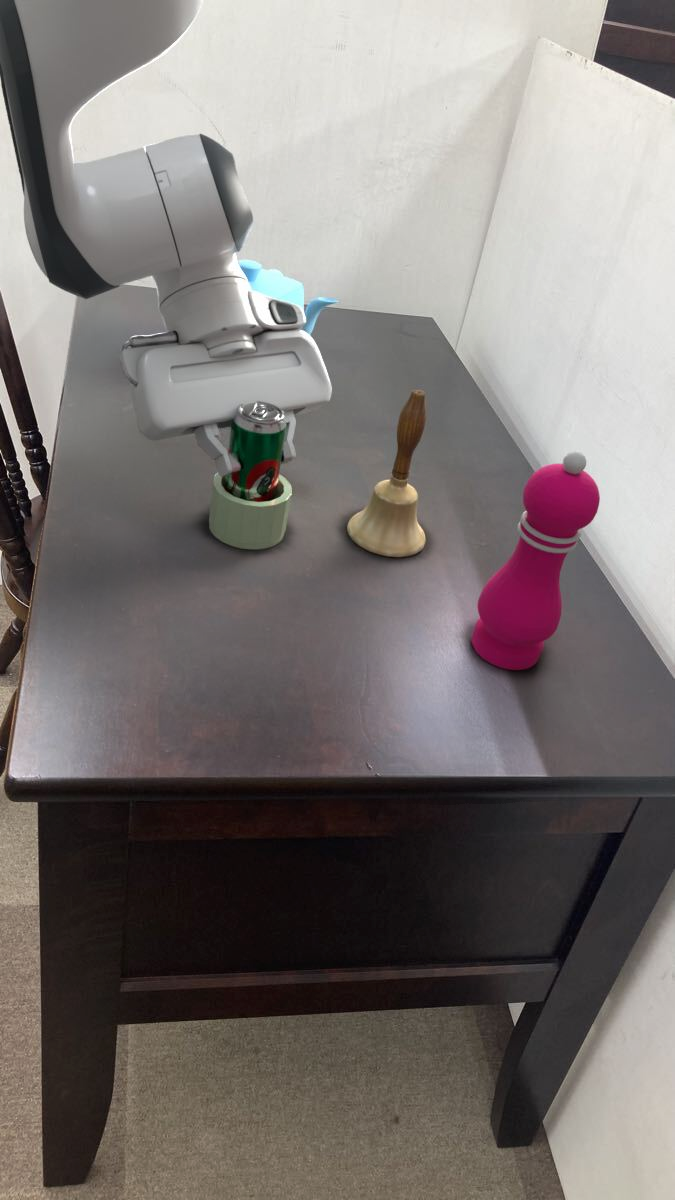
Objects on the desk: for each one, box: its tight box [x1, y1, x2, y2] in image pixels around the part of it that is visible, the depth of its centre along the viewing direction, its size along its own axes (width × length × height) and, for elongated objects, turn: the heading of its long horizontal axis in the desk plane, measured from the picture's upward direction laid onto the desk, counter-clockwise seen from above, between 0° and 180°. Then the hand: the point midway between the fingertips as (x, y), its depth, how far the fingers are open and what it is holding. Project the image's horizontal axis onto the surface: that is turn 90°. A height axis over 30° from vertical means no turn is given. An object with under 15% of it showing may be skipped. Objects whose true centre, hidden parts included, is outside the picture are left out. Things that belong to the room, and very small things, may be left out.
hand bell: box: [346, 389, 427, 558], centre depth 88 cm, size 8×8×16 cm
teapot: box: [237, 259, 339, 336], centre depth 117 cm, size 18×16×14 cm
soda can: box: [224, 401, 286, 502], centre depth 85 cm, size 5×5×12 cm
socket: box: [208, 471, 293, 551], centre depth 88 cm, size 8×8×5 cm
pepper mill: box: [471, 450, 601, 671], centre depth 75 cm, size 7×7×20 cm
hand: (259, 467), depth 84 cm, fingers closed on soda can, 5 cm apart
